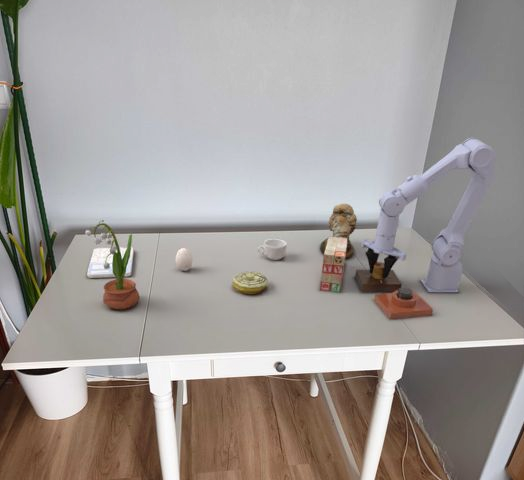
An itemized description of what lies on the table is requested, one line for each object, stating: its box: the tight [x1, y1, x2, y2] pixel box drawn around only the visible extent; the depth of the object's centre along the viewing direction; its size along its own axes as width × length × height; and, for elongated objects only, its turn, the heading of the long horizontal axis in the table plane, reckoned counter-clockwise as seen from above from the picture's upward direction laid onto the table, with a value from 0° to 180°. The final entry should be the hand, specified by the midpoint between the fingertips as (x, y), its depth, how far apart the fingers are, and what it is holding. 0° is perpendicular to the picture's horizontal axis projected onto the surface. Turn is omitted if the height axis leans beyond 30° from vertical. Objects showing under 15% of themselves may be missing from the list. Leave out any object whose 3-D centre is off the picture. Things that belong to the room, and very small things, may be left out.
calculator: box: [86, 246, 135, 279], centre depth 163 cm, size 13×20×2 cm, turn 9°
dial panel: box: [354, 269, 403, 294], centre depth 156 cm, size 12×10×3 cm
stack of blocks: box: [319, 236, 347, 293], centre depth 158 cm, size 21×6×12 cm, turn 168°
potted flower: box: [84, 220, 140, 310], centre depth 135 cm, size 12×10×25 cm
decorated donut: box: [232, 271, 270, 295], centre depth 152 cm, size 10×11×4 cm
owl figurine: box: [320, 203, 358, 261], centre depth 175 cm, size 18×12×17 cm, turn 1°
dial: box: [372, 261, 384, 279], centre depth 154 cm, size 4×4×4 cm
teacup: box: [257, 238, 288, 261], centre depth 170 cm, size 10×8×5 cm
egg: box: [175, 247, 193, 272], centre depth 160 cm, size 5×5×8 cm
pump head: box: [397, 287, 414, 300], centre depth 143 cm, size 4×4×2 cm
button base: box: [373, 290, 434, 320], centre depth 145 cm, size 13×11×4 cm
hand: (378, 274), depth 155 cm, fingers closed on dial, 4 cm apart
